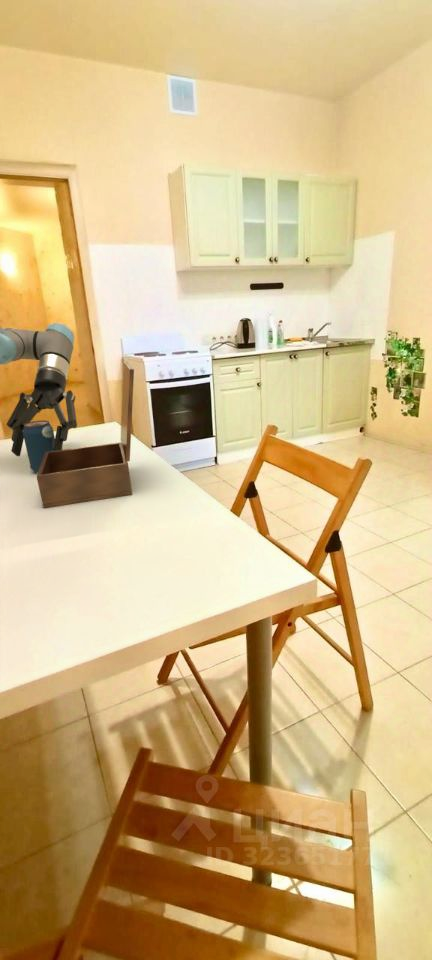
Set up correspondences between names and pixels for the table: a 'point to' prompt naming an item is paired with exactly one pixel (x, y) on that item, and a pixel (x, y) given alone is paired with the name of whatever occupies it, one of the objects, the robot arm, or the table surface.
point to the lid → (127, 409)
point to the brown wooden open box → (83, 475)
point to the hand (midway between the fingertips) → (36, 452)
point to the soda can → (38, 441)
